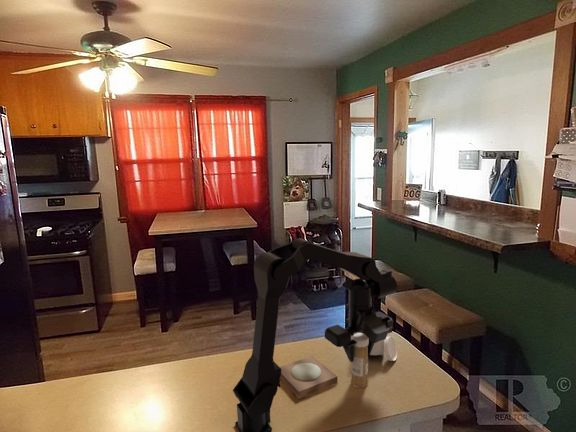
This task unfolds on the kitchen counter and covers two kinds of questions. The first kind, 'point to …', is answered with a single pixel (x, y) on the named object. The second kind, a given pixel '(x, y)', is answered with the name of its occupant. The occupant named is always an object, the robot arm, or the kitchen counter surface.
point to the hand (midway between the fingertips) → (359, 358)
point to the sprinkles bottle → (360, 361)
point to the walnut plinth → (307, 376)
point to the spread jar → (384, 349)
